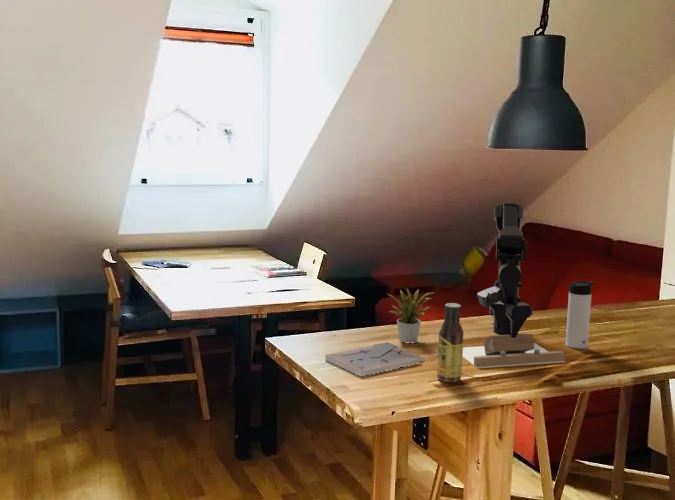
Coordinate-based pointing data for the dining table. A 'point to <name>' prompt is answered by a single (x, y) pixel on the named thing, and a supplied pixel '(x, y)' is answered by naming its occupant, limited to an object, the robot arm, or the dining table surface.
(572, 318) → the travel mug
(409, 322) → the house plant
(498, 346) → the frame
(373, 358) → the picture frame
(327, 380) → the dining table surface
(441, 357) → the sauce bottle
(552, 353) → the wall board
